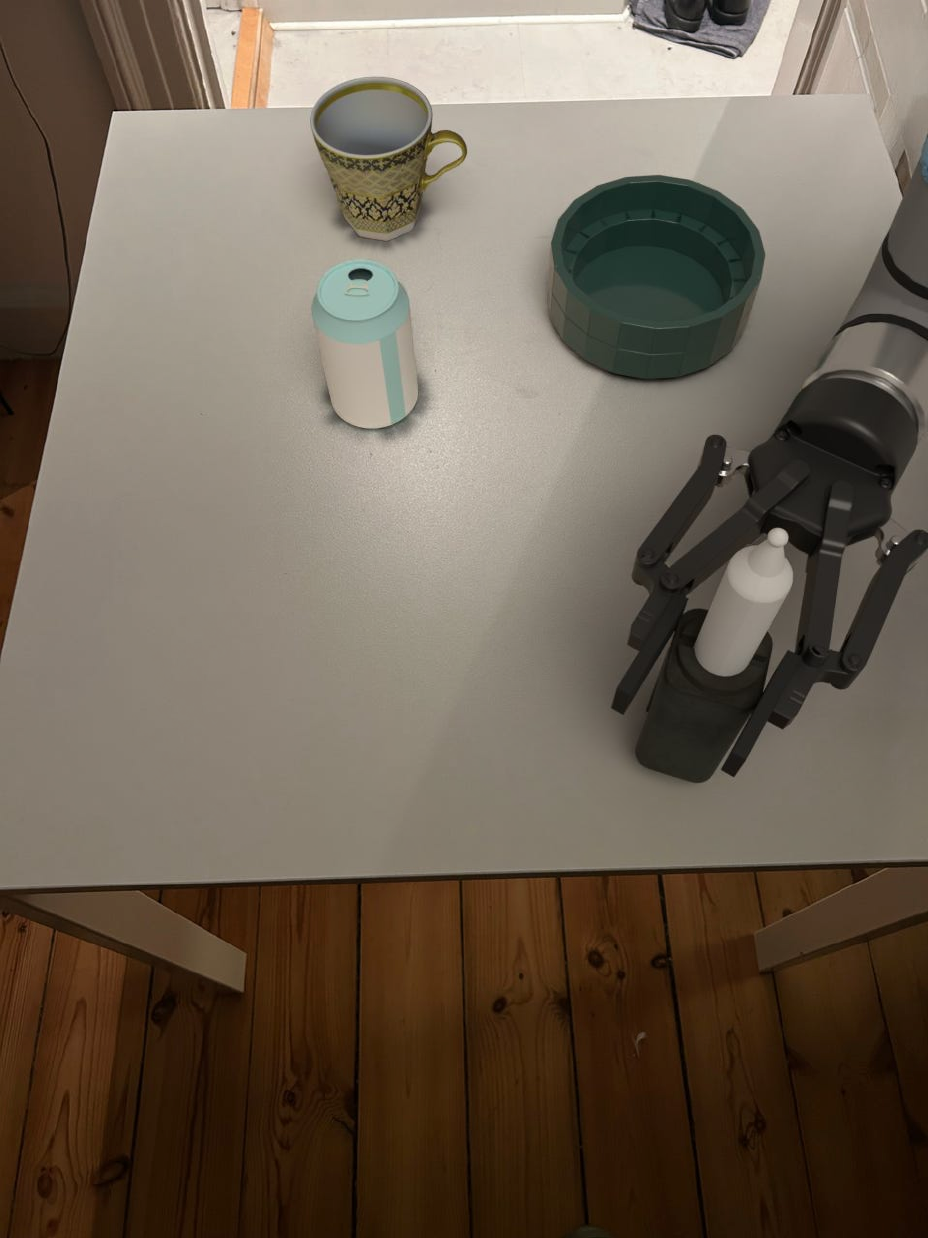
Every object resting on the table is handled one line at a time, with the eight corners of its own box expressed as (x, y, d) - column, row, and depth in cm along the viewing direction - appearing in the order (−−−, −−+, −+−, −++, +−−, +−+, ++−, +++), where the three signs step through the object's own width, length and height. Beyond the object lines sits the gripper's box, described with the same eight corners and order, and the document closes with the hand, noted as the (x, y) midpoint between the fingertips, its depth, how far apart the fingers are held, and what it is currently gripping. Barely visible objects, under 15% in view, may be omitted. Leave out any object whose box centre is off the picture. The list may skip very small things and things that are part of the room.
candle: (710, 788, 62) (832, 600, 40) (630, 764, 63) (706, 566, 41) (727, 716, 64) (851, 499, 42) (650, 693, 65) (732, 469, 43)
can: (315, 390, 81) (289, 278, 70) (389, 351, 82) (374, 237, 72) (360, 448, 78) (339, 341, 67) (435, 407, 80) (426, 296, 69)
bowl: (777, 283, 85) (799, 222, 79) (689, 416, 79) (705, 360, 73) (607, 212, 89) (615, 149, 83) (510, 332, 83) (512, 273, 77)
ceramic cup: (313, 245, 88) (293, 147, 79) (346, 169, 92) (330, 68, 83) (455, 268, 86) (451, 170, 77) (481, 190, 91) (480, 88, 82)
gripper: (982, 525, 60) (826, 850, 51) (701, 397, 64) (516, 673, 56) (1044, 449, 53) (876, 808, 44) (725, 313, 58) (519, 612, 49)
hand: (676, 732), depth 50 cm, fingers closed on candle, 6 cm apart
